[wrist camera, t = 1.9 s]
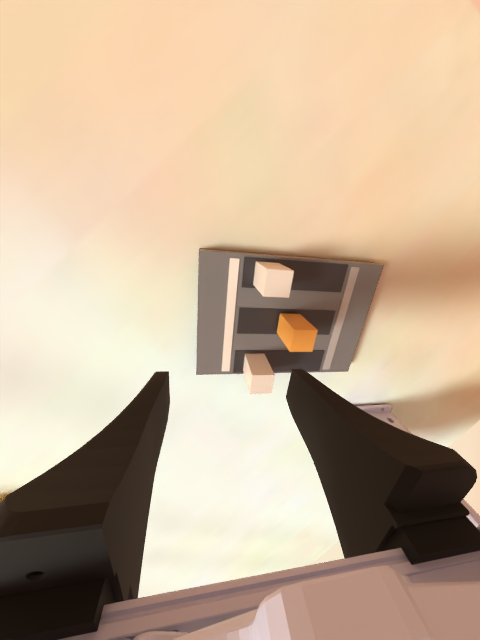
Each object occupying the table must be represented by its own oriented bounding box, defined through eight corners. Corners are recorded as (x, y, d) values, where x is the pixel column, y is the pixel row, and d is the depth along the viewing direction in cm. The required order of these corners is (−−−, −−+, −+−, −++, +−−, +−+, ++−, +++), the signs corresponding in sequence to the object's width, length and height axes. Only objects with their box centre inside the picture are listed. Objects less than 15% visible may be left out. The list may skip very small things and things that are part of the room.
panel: (373, 262, 22) (417, 272, 17) (340, 364, 27) (369, 393, 22) (199, 248, 19) (198, 256, 14) (196, 366, 24) (195, 400, 19)
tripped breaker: (300, 313, 21) (317, 330, 18) (296, 332, 22) (312, 351, 19) (279, 313, 21) (294, 329, 17) (276, 332, 21) (289, 351, 18)
